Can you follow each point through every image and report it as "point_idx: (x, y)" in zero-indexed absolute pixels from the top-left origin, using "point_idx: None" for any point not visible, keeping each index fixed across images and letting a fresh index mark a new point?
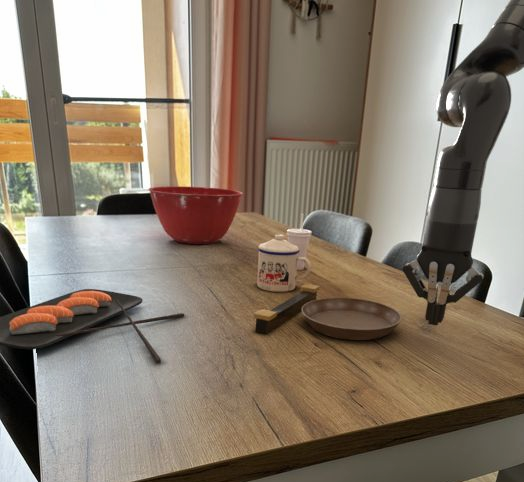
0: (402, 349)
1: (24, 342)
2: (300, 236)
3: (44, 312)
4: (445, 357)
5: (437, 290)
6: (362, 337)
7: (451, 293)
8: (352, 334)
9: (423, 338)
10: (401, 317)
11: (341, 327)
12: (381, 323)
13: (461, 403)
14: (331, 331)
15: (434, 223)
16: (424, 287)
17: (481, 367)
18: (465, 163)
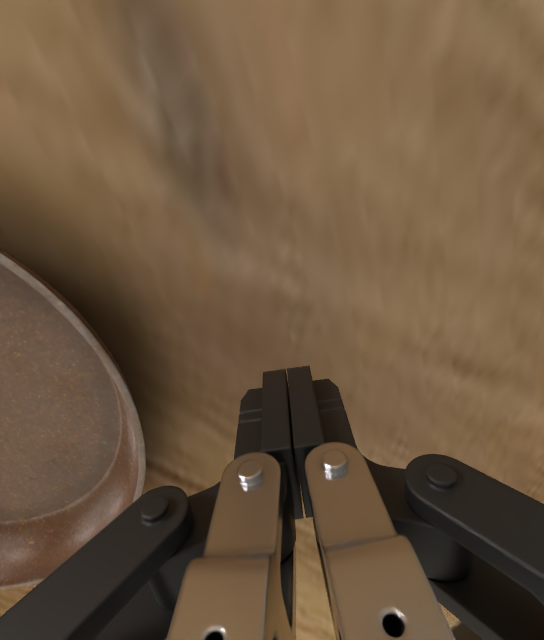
0: (229, 455)
1: None
2: None
3: None
4: (370, 429)
5: (280, 538)
6: (94, 505)
7: (409, 530)
8: (68, 541)
9: (243, 305)
10: (107, 355)
11: (27, 585)
12: (27, 311)
13: (450, 617)
14: (3, 555)
15: None
16: (161, 565)
17: (488, 431)
18: None
